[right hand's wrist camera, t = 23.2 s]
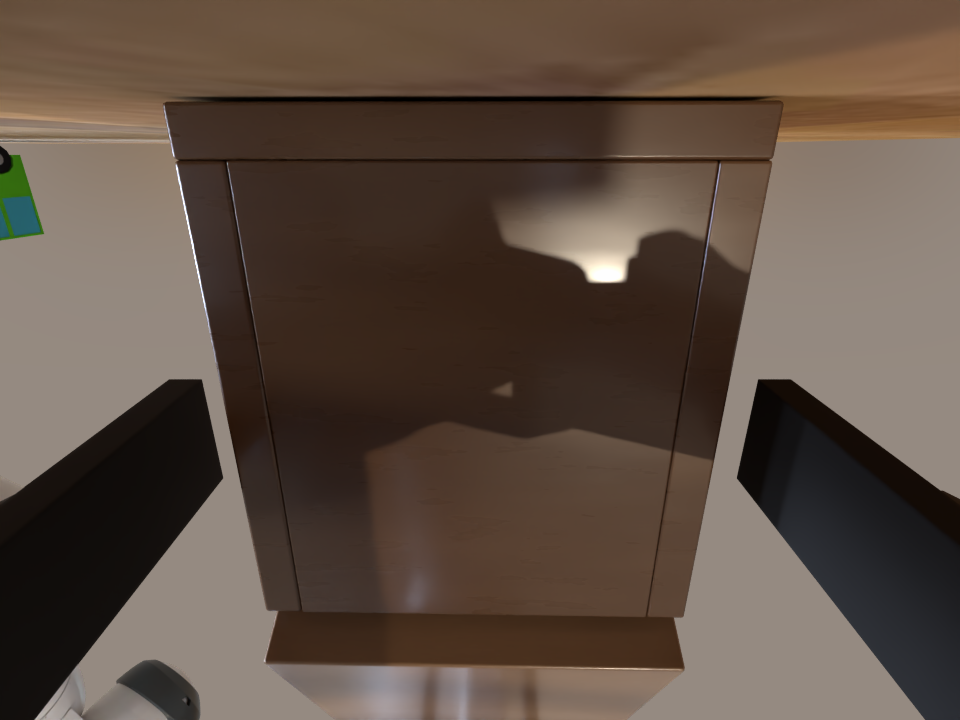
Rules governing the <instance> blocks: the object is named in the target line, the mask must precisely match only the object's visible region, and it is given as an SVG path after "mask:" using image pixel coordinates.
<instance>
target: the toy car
mask: <svg viewBox="0 0 960 720" xmlns="http://www.w3.org/2000/svg"><path fill="white" fill-rule="evenodd" d="M40 234H44V232H43V229H42V226H41V222H40V219H39V216H38V212H37V209H36V206H35V203H34V200H33V196H32V193H31V190H30V186H29V183H28V180H27V177H26V173H25V170H24V167H23V163H22V160H21V157H20V155H9V154H8V152H7V151H6V150H5V149H4V148H2V147H1V146H0V240H6V239H13V238H19V237H27V236H33V235H40Z"/></svg>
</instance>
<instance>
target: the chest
mask: <svg viewBox="0 0 960 720" xmlns="http://www.w3.org/2000/svg"><path fill="white" fill-rule="evenodd" d="M163 109H164V114H165V119H166V123H167V128H168V133H169V138H170V143H171V148H172V153H173V156H174V158H175V159H177V160H178V161H177V162H176V164H175V165H176V170H177V175H178V180H179V185H180V190H181V195H182V200H183V204H184V210H185V214H186V219H187V224H188V229H189V234H190V239H191V244H192V249H193V253H194V258H195V263H196V268H197V273H198V278H199V283H200V288H201V293H202V298H203V302H204V307H205V312H206V317H207V322H208V327H209V331H210V336H211V341H212V346H213V351H214V356H215V361H216V365H217V371H218V376H219V381H220V385H221V390H222V395H223V400H224V405H225V410H226V415H227V420H228V424H229V429H230V434H231V439H232V444H233V449H234V454H235V459H236V463H237V468H238V473H239V478H240V483H241V488H242V493H243V498H244V503H245V507H246V512H247V517H248V522H249V527H250V532H251V537H252V542H253V547H254V551H255V556H256V561H257V566H258V571H259V576H260V581H261V586H262V591H263V595H264V600H265V605H266V609H267V610H268V611H301V610H303V612H340V613H405V614H470V615H535V616H600V617H646V615H647V616H648V617H677V618H681V617H683V616H684V611H685V606H686V601H687V596H688V591H689V586H690V580H691V575H692V570H693V565H694V560H695V555H696V550H697V545H698V539H699V534H700V529H701V524H702V519H703V514H704V509H705V504H706V499H707V494H708V488H709V483H710V478H711V473H712V468H713V463H714V458H715V453H716V448H717V442H718V437H719V432H720V427H721V422H722V417H723V412H724V407H725V402H726V397H727V391H728V386H729V381H730V376H731V371H732V366H733V361H734V356H735V351H736V346H737V341H738V335H739V330H740V325H741V320H742V315H743V310H744V305H745V300H746V295H747V289H748V284H749V279H750V274H751V269H752V264H753V259H754V254H755V249H756V243H757V238H758V233H759V228H760V223H761V218H762V213H763V208H764V203H765V198H766V192H767V187H768V182H769V177H770V172H771V167H772V162H771V161H770V159H772V158H773V156H774V151H775V146H776V140H777V135H778V130H779V125H780V120H781V115H782V110H783V102H781V101H283V102H165V103H163Z"/></svg>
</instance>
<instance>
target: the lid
mask: <svg viewBox="0 0 960 720" xmlns="http://www.w3.org/2000/svg"><path fill="white" fill-rule="evenodd" d="M264 663H265V664H266V665H267V666H268V667H270V668H271V669H272V670H273V671H275V672H276V673H277V674H279V675H280V676H281V677H282V678H284V679H285V680H286V681H287V682H288V683H290V684H291V685H292V686H293V687H295V688H296V689H297V690H299V691H300V692H301V693H302V694H304V695H305V696H306V697H307V698H309V699H310V700H311V701H312V702H314V703H315V704H316V705H317V706H319V707H320V708H321V709H322V710H324V711H325V712H326V713H327V714H329V715H330V716H331V717H332V718H334V719H335V720H627V719H628V718H629V717H630V716H631V715H633V714H634V713H635V712H636V711H637V710H639V709H640V708H641V707H642V706H643V705H644V704H646V703H647V702H648V701H649V700H650V699H651V698H653V697H654V696H655V695H656V694H657V693H658V692H660V691H661V690H662V689H663V688H664V687H665V686H667V685H668V684H669V683H670V682H671V681H672V680H674V679H675V678H676V677H677V676H678V675H680V674H681V673H682V672H683V671H684V668H685V667H684V662H683V658H682V653H681V649H680V644H679V639H678V635H677V630H676V626H675V621H674V617H648V616H647V615H646V617H600V616H535V615H470V614H405V613H340V612H303V610H301V611H277V613H276V617H275V621H274V625H273V628H272V632H271V636H270V640H269V644H268V648H267V651H266V655H265V659H264Z"/></svg>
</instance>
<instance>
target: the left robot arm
mask: <svg viewBox="0 0 960 720" xmlns="http://www.w3.org/2000/svg"><path fill="white" fill-rule="evenodd" d="M22 488H24V487H23V486H21V485H18V484H16V483H14V482H12V481H10V480H8V479H5V478H4V477H2V476H0V501H2V500H4V499H6V498H8V497H10V496H12V495H14V494H16V493H17V492H18V491H20V490H21V489H22ZM116 682H117V684H116V685H115V686H114V687H113V688H112V689H111V690H109V691H108V692H107V693H106V694H105V695H103V696H102V697H101V698H100V699H99V700H98V701H97V702H96V703H95V704H94V705H92V706H91V707H90V708H89V709H88V710H87V711H86V712H85V713H84V714H83V715H82V712H83V709H84V705H85V700H86V691H85V684H84V679H83V675H82V672H81V669H80V666H79V664H78V665H77V666H76V668H75V669H74V670H73V671H72V673H71V674H70V675H69V677H68V678H67V679H66V680H65V682H64V683H63V684H62V685H61V687H60V688H59V689H58V691H57V692H56V693H55V694H54V696H53V697H52V698H51V700H50V701H49V702H48V703H47V705H46V706H45V707H44V709H43V710H42V711H41V712H40V714H39V715H38V716H37V718H36V719H35V720H199V718H200V700H199V695H198V693H197V691H196V690H195V688H194V685H193V683H192V681H191V680H190V678H189V677H188V675H187V674H186V673H185V672H184V671H182V670H181V669H180V668H178V667H176V666H174V665H171V664H168V663H163V662H160V661H158V660H146V661H142V662H141V663H139V664H137V665H136V666H134V667H133V668H132V669H130V670H129V671H128V672H126V673H125V674H124V675H123V676H121V677H120V678H119V679H118V680H117V681H116ZM81 715H82V716H81Z"/></svg>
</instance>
